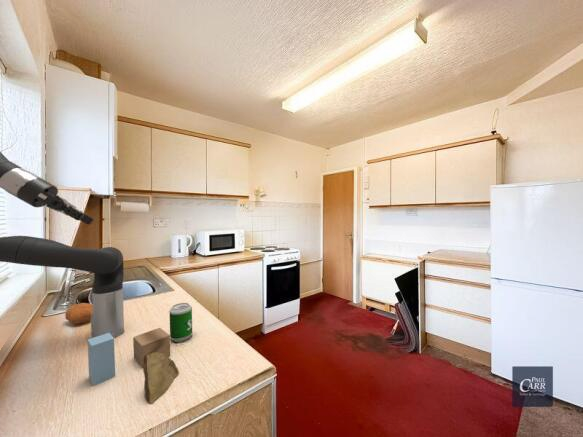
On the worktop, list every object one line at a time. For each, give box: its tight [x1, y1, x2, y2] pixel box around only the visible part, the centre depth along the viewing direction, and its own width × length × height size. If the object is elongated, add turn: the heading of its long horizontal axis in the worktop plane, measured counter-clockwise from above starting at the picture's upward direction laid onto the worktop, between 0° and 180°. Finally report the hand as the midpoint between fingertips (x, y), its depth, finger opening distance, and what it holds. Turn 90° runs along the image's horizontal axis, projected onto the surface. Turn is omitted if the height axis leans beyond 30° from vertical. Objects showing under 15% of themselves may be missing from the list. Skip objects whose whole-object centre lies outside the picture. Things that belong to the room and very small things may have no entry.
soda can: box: [168, 302, 193, 343], centre depth 89 cm, size 8×8×12 cm
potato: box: [64, 302, 93, 324], centre depth 103 cm, size 9×11×8 cm
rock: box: [142, 352, 180, 405], centre depth 65 cm, size 11×9×10 cm
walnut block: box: [132, 327, 171, 369], centre depth 77 cm, size 8×8×7 cm
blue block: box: [87, 333, 116, 386], centre depth 68 cm, size 5×5×11 cm
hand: (86, 220), depth 72 cm, fingers open, 8 cm apart
